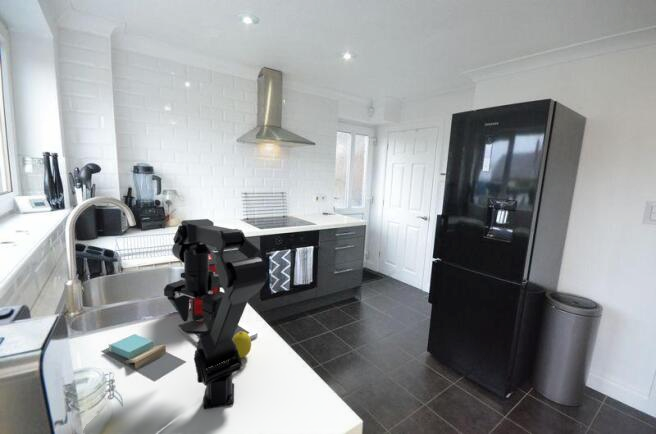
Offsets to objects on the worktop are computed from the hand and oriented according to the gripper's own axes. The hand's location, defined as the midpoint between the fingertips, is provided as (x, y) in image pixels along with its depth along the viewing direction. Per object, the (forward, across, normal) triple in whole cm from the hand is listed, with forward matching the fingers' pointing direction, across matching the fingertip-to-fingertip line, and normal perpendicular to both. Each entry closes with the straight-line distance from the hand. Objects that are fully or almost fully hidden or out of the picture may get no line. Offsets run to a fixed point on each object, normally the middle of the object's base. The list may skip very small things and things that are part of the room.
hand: (197, 325), depth 77 cm
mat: (+12, +16, +5) cm, 21 cm away
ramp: (+12, +15, +5) cm, 20 cm away
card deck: (+10, +17, +5) cm, 20 cm away
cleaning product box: (+12, +26, -24) cm, 38 cm away
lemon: (+12, -7, -9) cm, 17 cm away
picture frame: (+13, +9, -15) cm, 21 cm away
